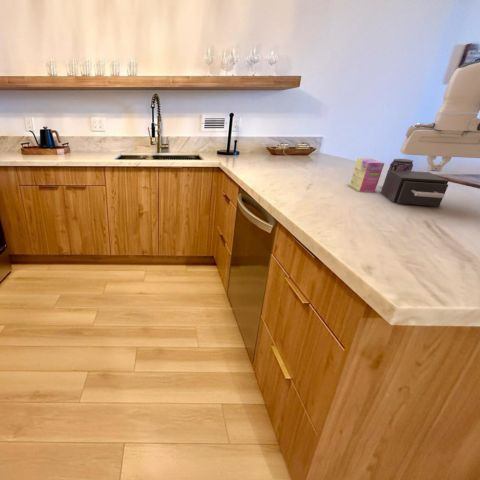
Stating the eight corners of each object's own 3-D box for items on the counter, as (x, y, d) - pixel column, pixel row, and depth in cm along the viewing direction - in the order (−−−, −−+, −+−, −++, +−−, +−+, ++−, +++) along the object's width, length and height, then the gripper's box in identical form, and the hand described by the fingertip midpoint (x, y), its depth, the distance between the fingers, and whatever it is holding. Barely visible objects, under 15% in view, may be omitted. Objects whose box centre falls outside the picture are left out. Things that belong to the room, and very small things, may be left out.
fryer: (437, 207, 97) (448, 180, 93) (392, 203, 101) (401, 177, 97) (419, 196, 109) (428, 172, 105) (380, 193, 113) (388, 169, 109)
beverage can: (387, 191, 115) (397, 161, 110) (379, 187, 122) (388, 158, 117) (407, 192, 114) (418, 161, 109) (398, 188, 120) (408, 158, 115)
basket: (446, 211, 90) (456, 188, 87) (403, 207, 94) (411, 185, 91) (422, 196, 106) (429, 176, 103) (385, 193, 110) (392, 174, 107)
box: (375, 193, 113) (384, 162, 108) (359, 192, 114) (368, 162, 109) (363, 186, 122) (372, 158, 117) (349, 186, 123) (356, 158, 118)
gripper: (414, 123, 85) (397, 170, 91) (504, 125, 79) (480, 175, 84) (406, 122, 91) (391, 166, 96) (490, 124, 84) (468, 171, 90)
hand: (433, 171), depth 90 cm, fingers closed
